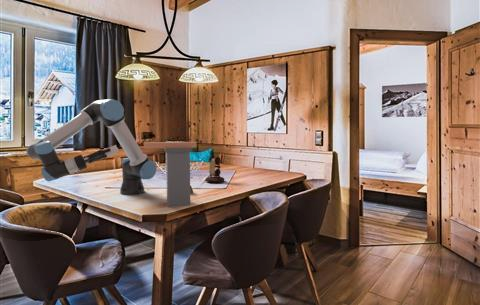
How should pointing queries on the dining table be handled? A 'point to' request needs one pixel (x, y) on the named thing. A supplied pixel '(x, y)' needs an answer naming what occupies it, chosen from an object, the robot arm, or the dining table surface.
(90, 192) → the dining table surface
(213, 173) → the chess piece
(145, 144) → the slat
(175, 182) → the pedestal
